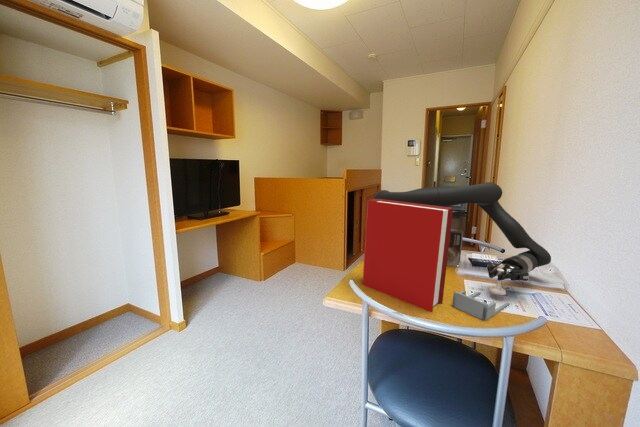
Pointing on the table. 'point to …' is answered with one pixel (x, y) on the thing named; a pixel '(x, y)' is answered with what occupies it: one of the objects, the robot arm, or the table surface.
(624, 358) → the table surface
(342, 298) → the table surface
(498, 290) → the chess piece
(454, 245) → the coffee box
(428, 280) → the book
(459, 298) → the chute
